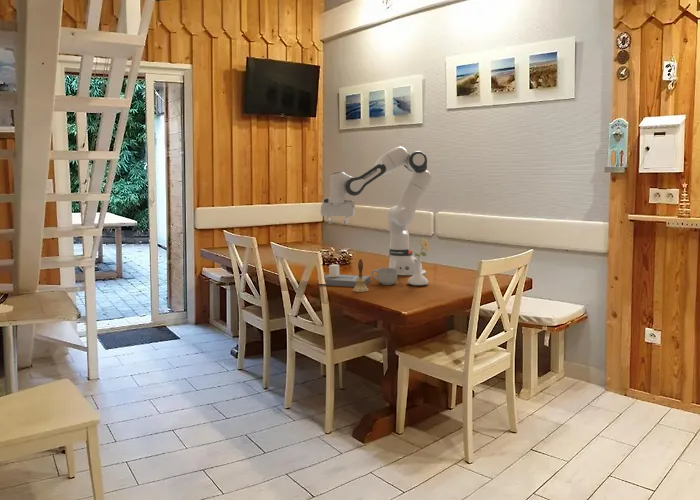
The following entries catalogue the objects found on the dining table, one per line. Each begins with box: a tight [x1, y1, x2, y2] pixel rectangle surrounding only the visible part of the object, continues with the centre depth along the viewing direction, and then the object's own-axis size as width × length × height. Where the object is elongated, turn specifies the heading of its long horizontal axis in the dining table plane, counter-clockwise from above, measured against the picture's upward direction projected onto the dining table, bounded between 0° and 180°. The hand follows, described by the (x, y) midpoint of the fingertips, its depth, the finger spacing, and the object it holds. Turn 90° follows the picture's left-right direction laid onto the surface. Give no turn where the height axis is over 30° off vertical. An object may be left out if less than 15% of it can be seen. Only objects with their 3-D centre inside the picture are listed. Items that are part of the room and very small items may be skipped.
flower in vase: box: [406, 237, 432, 287], centre depth 323 cm, size 13×11×25 cm
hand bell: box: [352, 258, 370, 293], centre depth 311 cm, size 8×8×16 cm
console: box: [323, 273, 371, 288], centre depth 330 cm, size 24×16×3 cm, turn 71°
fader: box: [328, 263, 340, 277], centre depth 331 cm, size 4×5×6 cm
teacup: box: [371, 267, 398, 286], centre depth 328 cm, size 14×11×8 cm
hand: (337, 223), depth 357 cm, fingers open, 8 cm apart
